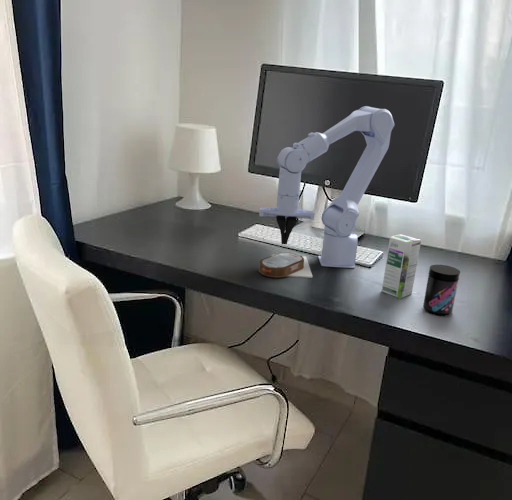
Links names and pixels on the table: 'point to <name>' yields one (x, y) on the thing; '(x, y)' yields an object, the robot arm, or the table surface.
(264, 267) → the tin
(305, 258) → the white flat panel
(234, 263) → the table surface
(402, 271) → the syrup box
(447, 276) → the supplement container
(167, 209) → the table surface
